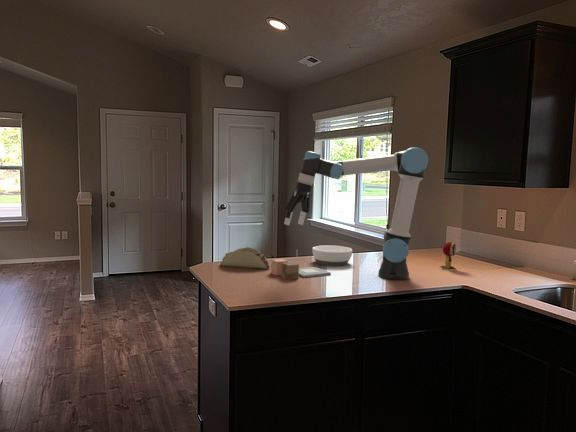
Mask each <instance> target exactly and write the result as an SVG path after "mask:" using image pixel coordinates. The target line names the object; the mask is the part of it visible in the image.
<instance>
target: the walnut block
mask: <svg viewBox="0 0 576 432" xmlns="http://www.w3.org/2000/svg"><path fill="white" fill-rule="evenodd" d="M299 268H300V264H299V263H296V262H294V261H290V262H289V261H288V262H287V263H282V275H281V278H283V277H284V278H283V279H285V278H286V279H285V280H287V279H289V280H294V279H293V278H298V279H299V276H298V275H299Z"/></svg>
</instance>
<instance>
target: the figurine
mask: <svg viewBox="0 0 576 432" xmlns="http://www.w3.org/2000/svg"><path fill="white" fill-rule="evenodd" d="M442 252H443V254H444V255H445V259H444V265H440V266H439V267H438V269H440V270H441V269H442V271H447V270H450V271H449V272H452V271H451V270H455V271H457V268H456V267H454V266H452V260H453V259H452V257H454V256H455V255H456V254H457V245H456V244H455V242H452V241H449V242H446V243H444V244H443V246H442Z"/></svg>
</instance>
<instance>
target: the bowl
mask: <svg viewBox="0 0 576 432" xmlns="http://www.w3.org/2000/svg"><path fill="white" fill-rule="evenodd" d="M312 255H313V258H314V260H315V262H316V264H318V265H321V266H325V267H344V266H347V265H348V263H349V261H350V260H351V258H352V255H353V249H352V248H351V247H348V246H341V245H334V244H333V245H332V244H331V245H330V244H329V245H328V244H327V245H326V244H325V245H317V246H313V247H312Z"/></svg>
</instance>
